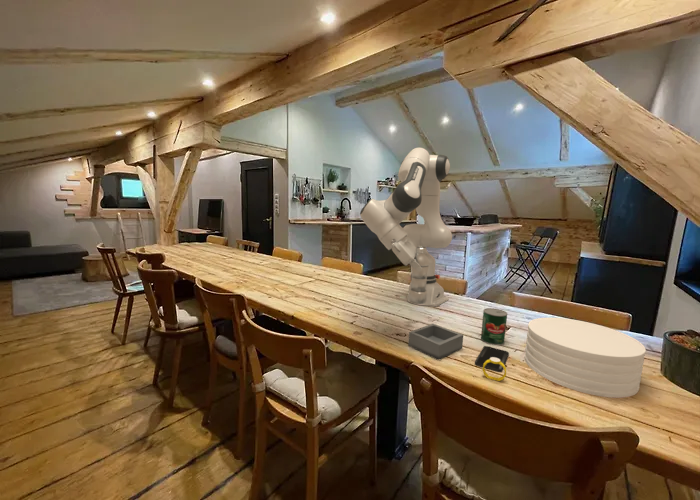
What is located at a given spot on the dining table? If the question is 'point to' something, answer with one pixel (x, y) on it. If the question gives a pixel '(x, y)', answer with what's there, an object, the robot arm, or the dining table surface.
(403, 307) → the dining table surface
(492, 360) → the watch
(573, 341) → the plate stack
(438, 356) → the tray
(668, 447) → the dining table surface
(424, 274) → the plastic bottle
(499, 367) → the phone
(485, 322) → the canned tomato
